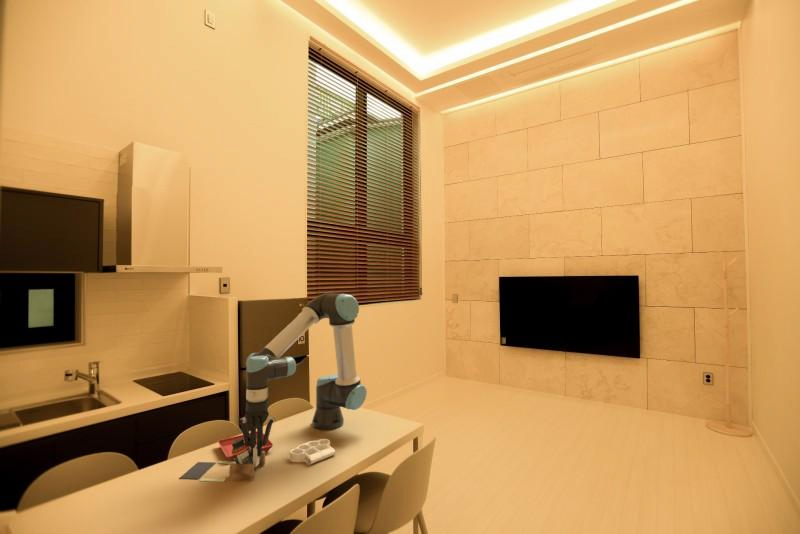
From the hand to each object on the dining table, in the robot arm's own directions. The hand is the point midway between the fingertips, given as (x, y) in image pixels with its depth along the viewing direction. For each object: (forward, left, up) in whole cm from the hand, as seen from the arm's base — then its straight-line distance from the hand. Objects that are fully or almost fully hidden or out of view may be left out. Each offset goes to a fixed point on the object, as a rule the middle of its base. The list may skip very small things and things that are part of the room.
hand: (256, 465), depth 140 cm
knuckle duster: (-17, -16, -4) cm, 23 cm away
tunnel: (+3, -1, -3) cm, 4 cm away
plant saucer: (+12, -19, -4) cm, 23 cm away
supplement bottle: (+3, 0, -2) cm, 4 cm away
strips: (+13, -1, -3) cm, 13 cm away
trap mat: (+22, -1, -3) cm, 22 cm away
